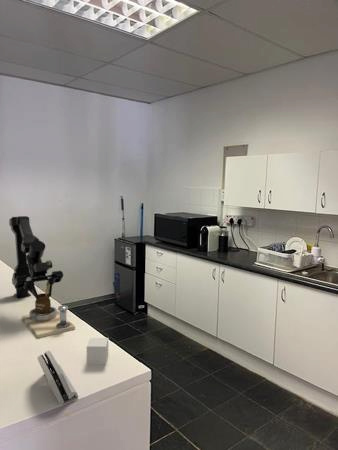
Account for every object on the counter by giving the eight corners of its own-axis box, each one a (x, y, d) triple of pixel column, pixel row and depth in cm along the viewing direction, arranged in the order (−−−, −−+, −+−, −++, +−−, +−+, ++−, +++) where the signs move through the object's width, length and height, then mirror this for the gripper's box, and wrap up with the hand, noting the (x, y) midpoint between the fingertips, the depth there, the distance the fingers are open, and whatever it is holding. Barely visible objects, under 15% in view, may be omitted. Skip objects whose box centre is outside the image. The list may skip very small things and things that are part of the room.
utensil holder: (43, 308, 142) (42, 280, 141) (54, 310, 139) (54, 282, 138) (31, 312, 137) (31, 284, 135) (43, 315, 134) (43, 286, 133)
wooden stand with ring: (21, 318, 138) (21, 298, 137) (55, 311, 147) (55, 292, 146) (37, 338, 121) (37, 315, 120) (74, 329, 130) (74, 307, 129)
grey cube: (89, 355, 110) (90, 337, 110) (108, 355, 111) (108, 337, 110) (86, 364, 105) (86, 346, 104) (105, 364, 105) (106, 346, 104)
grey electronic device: (79, 398, 88) (66, 368, 85) (62, 410, 86) (47, 379, 83) (61, 368, 102) (49, 341, 99) (46, 377, 99) (33, 350, 96)
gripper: (15, 256, 133) (23, 291, 125) (61, 252, 144) (71, 283, 137) (10, 271, 140) (18, 305, 132) (55, 266, 151) (64, 296, 144)
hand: (44, 297), depth 136 cm, fingers closed on utensil holder, 5 cm apart
